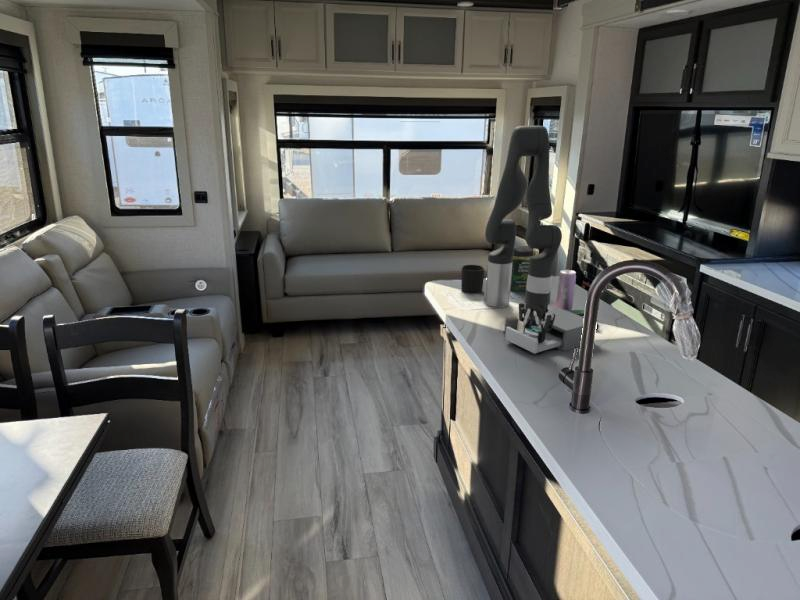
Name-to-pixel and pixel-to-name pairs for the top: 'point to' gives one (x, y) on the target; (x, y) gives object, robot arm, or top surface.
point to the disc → (532, 331)
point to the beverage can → (566, 289)
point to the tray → (532, 340)
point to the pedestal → (511, 323)
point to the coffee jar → (520, 267)
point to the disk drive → (580, 314)
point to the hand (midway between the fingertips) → (533, 338)
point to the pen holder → (472, 279)
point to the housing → (565, 328)
